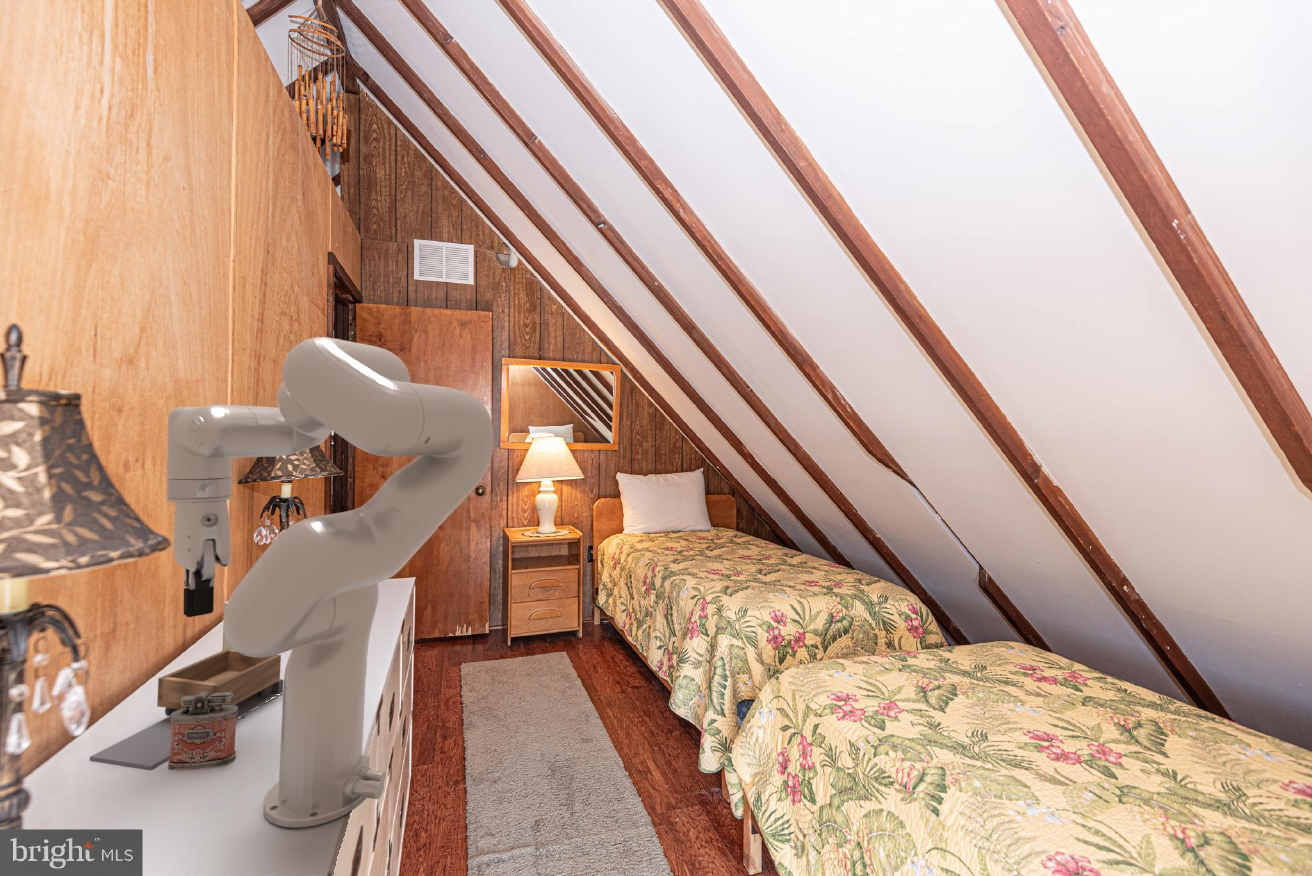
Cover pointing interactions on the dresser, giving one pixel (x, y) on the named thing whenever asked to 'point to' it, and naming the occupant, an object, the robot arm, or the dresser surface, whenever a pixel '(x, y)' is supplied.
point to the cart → (220, 678)
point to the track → (163, 738)
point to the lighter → (203, 732)
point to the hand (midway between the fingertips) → (198, 613)
